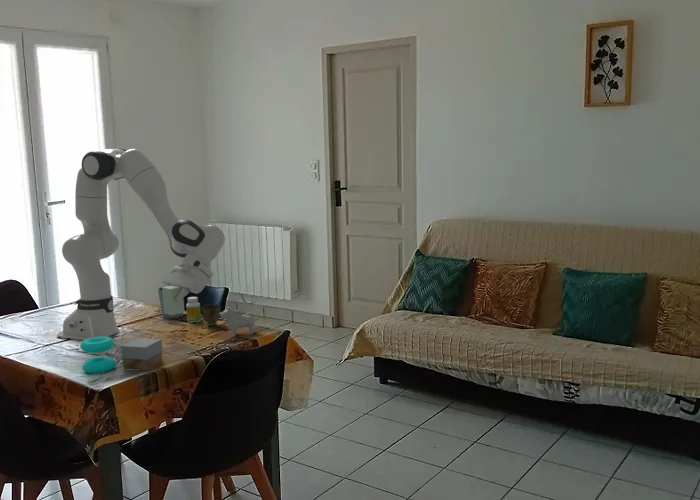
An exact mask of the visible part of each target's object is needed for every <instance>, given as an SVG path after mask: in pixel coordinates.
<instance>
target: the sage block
mask: <svg viewBox="0 0 700 500" xmlns="http://www.w3.org/2000/svg"><path fill="white" fill-rule="evenodd" d="M161 287H162V294H163V308H164V313H166V314H169V315H175V314H179V313H185V299H184V298H185V297H183V298H182V299H181V301H176V300H175V299H174V298H175V297H176V295H177V294H179V293H180V292H181V291H182V289H183V287H179V286H175V285H172V286H167V287H165V286H161Z"/></svg>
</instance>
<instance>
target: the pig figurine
mask: <svg viewBox="0 0 700 500" xmlns="http://www.w3.org/2000/svg"><path fill="white" fill-rule="evenodd" d="M225 308H226V309H224V310H223V311H220V313H219V314H220V318H221V319H223V320H226V321H225V324H226V325H227V327H228V328H230V329H231V332H230V334H231V337H236V335H237V330H238V328H248V331H247V332H248V333H249V335H250V336H251V335H253V334H254V327H255V323H256V318H255V317H254V314H253V313H252V312H247V313H246V314H242V310H241V309H236V310H234V309H233V308H231V307H229V306H226V307H225Z"/></svg>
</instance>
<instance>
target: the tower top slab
mask: <svg viewBox="0 0 700 500" xmlns="http://www.w3.org/2000/svg"><path fill="white" fill-rule="evenodd" d="M162 343H163V340H162V339H161V338H160V339H159V338H158V339H157V338H142V337H140V338H139V337H138V338H135V339H133V340H131V341H129V342H127V343H125V344H122V345H121V346H120V348H121V359H123V358H128V359H143V360H147V359H149V358H151V357H153V356H155V355H156V354H158V353H160V352H162V353H163V344H162Z"/></svg>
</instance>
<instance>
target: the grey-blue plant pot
mask: <svg viewBox="0 0 700 500" xmlns="http://www.w3.org/2000/svg"><path fill="white" fill-rule="evenodd" d="M162 287H163V286H161V287H158V288H157V291H158V298H159V302H160V306H161V316H162V318H164V319H177V317H178V318H181V317H183V316H184V313H185V312H184V313H179V314H175V315H169V314H166V313H164V308H163V294H162ZM164 287H167V286H166V285H164ZM180 316H181V317H180Z"/></svg>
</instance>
